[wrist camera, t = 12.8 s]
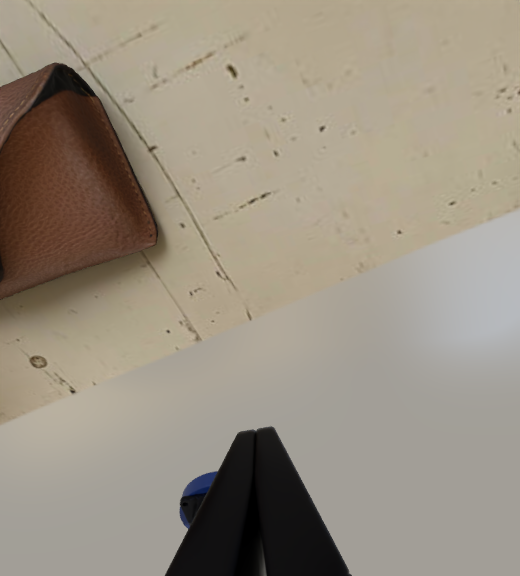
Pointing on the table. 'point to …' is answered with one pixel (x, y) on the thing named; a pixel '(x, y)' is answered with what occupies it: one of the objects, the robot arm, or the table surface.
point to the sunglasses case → (63, 183)
